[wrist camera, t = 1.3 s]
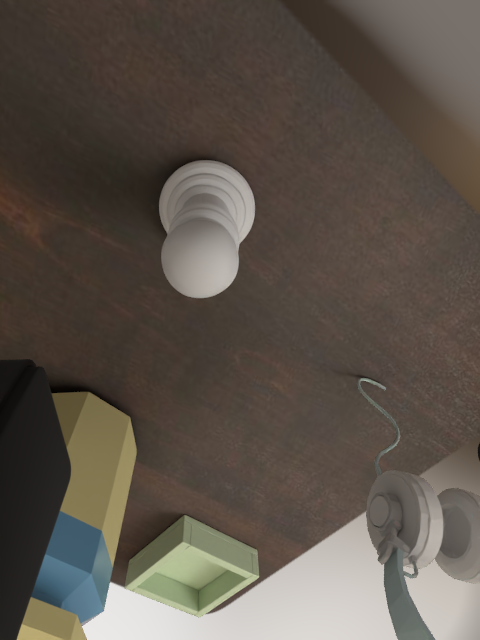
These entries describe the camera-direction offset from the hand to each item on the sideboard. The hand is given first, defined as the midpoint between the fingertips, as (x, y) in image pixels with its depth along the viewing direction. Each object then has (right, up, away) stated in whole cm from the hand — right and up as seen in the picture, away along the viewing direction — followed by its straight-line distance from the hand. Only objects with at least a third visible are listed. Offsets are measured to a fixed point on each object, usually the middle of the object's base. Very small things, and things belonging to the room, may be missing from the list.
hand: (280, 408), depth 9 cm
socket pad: (-5, -20, +33) cm, 39 cm away
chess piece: (-3, +8, +16) cm, 19 cm away
